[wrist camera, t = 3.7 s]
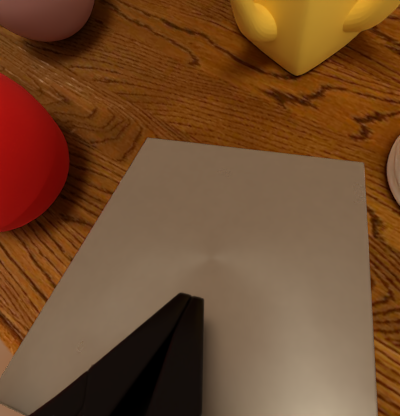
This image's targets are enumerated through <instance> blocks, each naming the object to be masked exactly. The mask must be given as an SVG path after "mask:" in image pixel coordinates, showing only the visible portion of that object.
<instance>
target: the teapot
mask: <svg viewBox="0 0 400 416" xmlns="http://www.w3.org/2000/svg"><path fill="white" fill-rule="evenodd" d="M229 1H230V3H231V6H232V10H233V14H234V18H235V21H236V23H237V25H238V28H239V30H240V31H241V33H242V34H243V35H244V36H245V37H246V38H247V39H248V40H250V41H251V42H252V43H253V44H254V45H255V46H256V47H258V48H259V49H260V50H261V51H262V52H263V53H265V54H266V55H267V56H268V57H270V58H271V59H272V60H273V61H275V62H276V63H277V64H279V65H280V66H281V67H283V68H284V69H285V70H287V71H288V72H290V73H291V74H293V75H295V76H299V75H302V74H304V73H306V72H308V71H309V70H311V69H313V68H314V67H316V66H317V65H319V64H320V63H322V62H323V61H325V60H326V59H327V58H329V57H330V56H332V55H333V54H334V53H336V52H337V51H339V50H340V49H341V48H343V47H344V46H345V45H346V44H348V43H349V42H350V41H351V40H352V39H353V38H355V37H356V36H357V35H358V34H359V33H360V32H361V31H364V30H368V29H370V28H372V27H374V26H375V25H377V24H379V23H380V22H382V21H383V20H384V19H385V18H386V17H388V16H389V15H390V14H391V13H392V12H393V11H394V10H395V9H396V8H397V7H398V5H399V4H400V0H229Z"/></svg>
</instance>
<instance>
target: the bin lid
mask: <svg viewBox="0 0 400 416" xmlns="http://www.w3.org/2000/svg"><path fill="white" fill-rule="evenodd" d="M181 292H183V293H186V294H190V295H191V296H197V297H201V298H203V299H204V340H203V395H202V416H378V409H377V391H376V372H375V354H374V336H373V318H372V300H371V282H370V264H369V246H368V227H367V209H366V191H365V173H364V163H363V162H355V161H346V160H337V159H329V158H320V157H312V156H303V155H294V154H286V153H277V152H268V151H260V150H251V149H243V148H234V147H225V146H217V145H208V144H200V143H191V142H182V141H174V140H165V139H156V138H147V139H146V141H145V142H144V144H143V146H142V147H141V149H140V151H139V152H138V154H137V155H136V157H135V159H134V160H133V162H132V164H131V165H130V167H129V169H128V170H127V172H126V173H125V175H124V177H123V178H122V180H121V182H120V183H119V185H118V187H117V188H116V190H115V191H114V193H113V195H112V196H111V198H110V200H109V201H108V203H107V204H106V206H105V208H104V209H103V211H102V213H101V214H100V216H99V218H98V219H97V221H96V222H95V224H94V226H93V227H92V229H91V231H90V232H89V234H88V236H87V237H86V239H85V240H84V242H83V244H82V245H81V247H80V249H79V250H78V252H77V253H76V255H75V257H74V258H73V260H72V262H71V263H70V265H69V267H68V268H67V270H66V271H65V273H64V275H63V276H62V278H61V280H60V281H59V283H58V285H57V286H56V288H55V289H54V291H53V293H52V294H51V296H50V298H49V299H48V301H47V302H46V304H45V306H44V307H43V309H42V311H41V312H40V314H39V316H38V317H37V319H36V320H35V322H34V324H33V325H32V327H31V329H30V330H29V332H28V334H27V335H26V337H25V338H24V340H23V342H22V343H21V345H20V347H19V348H18V350H17V351H16V353H15V355H14V356H13V358H12V360H11V361H10V363H9V365H8V366H7V368H6V370H5V371H4V373H3V374H2V376H1V378H0V404H2V405H4V406H6V407H8V408H10V409H12V410H14V411H16V412H19V413H21V414H23V415H25V416H29V415H30V414H31V413H33V412H34V411H36V410H37V409H38V408H40V407H41V406H42V405H44V404H45V403H46V402H48V401H49V400H51V399H52V398H53V397H55V396H56V395H57V394H58V393H60V392H61V391H62V390H63V389H65V388H66V387H67V386H68V385H70V384H71V383H72V382H73V381H75V380H76V379H77V378H78V377H79V376H81V375H82V374H83V373H84V372H85V371H88V370H89V368H90V367H91V366H93V365H94V364H95V363H96V362H97V361H99V360H100V359H101V358H102V357H103V356H105V355H106V354H107V353H108V352H109V351H110V350H112V349H113V348H114V347H115V346H116V345H118V344H119V343H120V342H121V341H122V340H124V339H125V338H126V337H127V336H128V335H130V334H131V333H132V332H133V331H134V330H135V329H137V328H138V327H139V326H140V325H141V324H143V323H144V322H145V321H146V320H147V319H149V318H150V317H151V316H152V315H153V314H155V313H156V312H157V311H158V310H159V309H160V308H162V307H163V306H164V305H165V304H166V303H168V302H169V301H170V300H171V299H172V298H174V297H175V296H176V295H177V294H178V293H181Z"/></svg>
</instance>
